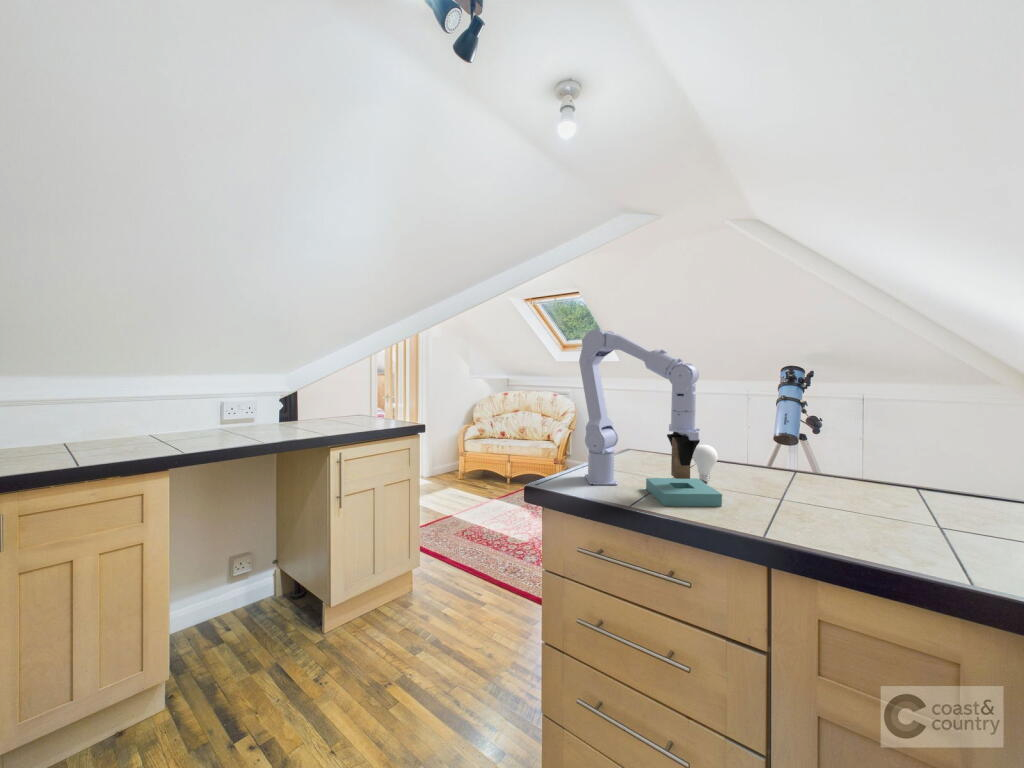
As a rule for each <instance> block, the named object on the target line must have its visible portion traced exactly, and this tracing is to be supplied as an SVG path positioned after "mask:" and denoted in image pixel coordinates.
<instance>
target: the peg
mask: <svg viewBox="0 0 1024 768" xmlns="http://www.w3.org/2000/svg"><path fill="white" fill-rule="evenodd" d="M670 464H671V470H670V472H671V473H670V475H671V477H672V478H676V479H690V478H691V465H690V466H682V465H681V463H680V458H679V450H678V446H677V443H676V441H675V437H672V446H671V463H670Z"/></svg>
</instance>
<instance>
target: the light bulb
mask: <svg viewBox="0 0 1024 768" xmlns="http://www.w3.org/2000/svg"><path fill="white" fill-rule="evenodd" d="M718 457H719V456H718V452H717V451H716V449H715V448H714V447H713V446H712V445H709V444H698V445H697V447H696V448H695V451H694V453H693V456H692V460H693V462H694V463H695V465H696V467H697V472H698V474H699V475H698V479H699V480H701V481H702V482H704V483H707V482H709V481H710V479H711V474H712V469H713V467H714V466H715V465H716V463H717V461H718Z"/></svg>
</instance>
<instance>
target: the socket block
mask: <svg viewBox="0 0 1024 768" xmlns="http://www.w3.org/2000/svg"><path fill="white" fill-rule="evenodd" d="M645 479H646V480H645V484H646V485H645V486H646V487H645V489H646V490H647V491H648V493H650V494H651V496H653V497H654V498H655V499H656V501H658V502H659V503H660V504H661V505H662V506H664V507H722V506H723V503H722V502H723V493H721V492H719V491H717V490H716V489H715V488H714V487H712V486H710V485H709V484H707V483H706V482H702V481H701V480H699V477H697V478H696V477H690V479H676V478H675V477H672V478H671V477H646V478H645Z"/></svg>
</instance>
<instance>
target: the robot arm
mask: <svg viewBox="0 0 1024 768" xmlns="http://www.w3.org/2000/svg"><path fill="white" fill-rule="evenodd" d="M581 344H582V345H581V347H582V348H581V352H580V355H579V360H578V361H579V369H580V375H581V381H582V386H583V391H584V398H585V402H586V403H585V404H586V408H587V414H588V422H587V423H586V425H585V437H584V444H585V447H586V448H587V449H588V456H587V457H588V458H587V460H588V461H587V466H588V467H587V473H586V474H584V477H585V479H586V480H587V483H589V485H591V484H593V485H598V486H599V485H601V486H602V485H606V486H607V485H608V486H609V485H610V486H611V485H613V486H615V485H617V486H618V482H617V480H616V479H615V446H616V445H617V444H618V441H619V435H618V432H617V430H616V429H615V427H614V425H613V424H614V423H613V421H612V420H611V419H610V418H609V416H608V412H607V406H606V405H607V404H606V398H605V395H604V394H605V393H604V388H603V383H602V377H601V371H600V366H599V365H600V364H601V362H602V360H604V358H605V357H607V356H608V355H609V354H611V353H612V352H613V351H614V350H615V351H622V352H624V353H626V354H628V355H630V356H632V357H634V358H637V359H638V360H641V361H643V362H644V364H645V368H646V369H648V370H650V371H651V372H653V373H655V374H657V375H658V376H661V377H662V378H664V379H666V380H668V382H670V384H671V414H670V415H671V416H670V417H671V418H670V420H671V421H670V423H669V424H668V431H669V432H672V433H667V434H666V436H667V439H668V441H669V443H670V445H671V447H672V437H675V441H676V443H677V446H678V450H679V458H680V463H681V465H682V466H690V467H691V463H692V460H693V453H694V451H695V448H696V447H697V446H699V445H700V444H699V443H700V438H699V437H700V435H699V434H700V433H699V432H700V430H701V429H700V428H699V427H696V408H697V407H696V404H697V403H696V401H697V400H696V397H697V393H696V383H697V382H698V379H699V377H700V373H699V370H698V369H697V367H695V366H694V365H693V364H692V363H689V362H688V363H683V362H684V359H682V358H676V357H674V356H671V355H669V354H667V353H668V351H667V350H665V349H660V350H659V349H654V350H649V349H647V347H644V346H642V345H640V344H638V343H637V342H635V341H633V340H632V339H629V338H628V337H625V336H624V335H622V334H620V333H615V332H613V331H611V330H600V329H596V328H593V329H591V330H589V331H587V333H585V334H584V336H583V337H582V339H581Z"/></svg>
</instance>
